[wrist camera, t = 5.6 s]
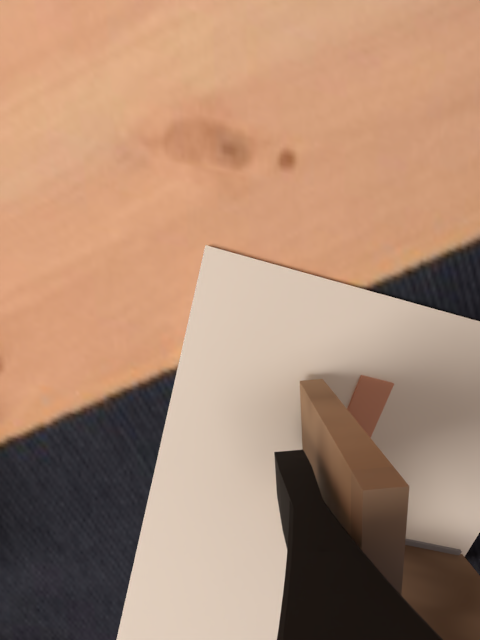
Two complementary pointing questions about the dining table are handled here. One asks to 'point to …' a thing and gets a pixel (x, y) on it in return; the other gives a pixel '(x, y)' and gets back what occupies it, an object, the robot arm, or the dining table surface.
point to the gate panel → (355, 479)
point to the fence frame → (443, 592)
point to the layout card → (293, 437)
